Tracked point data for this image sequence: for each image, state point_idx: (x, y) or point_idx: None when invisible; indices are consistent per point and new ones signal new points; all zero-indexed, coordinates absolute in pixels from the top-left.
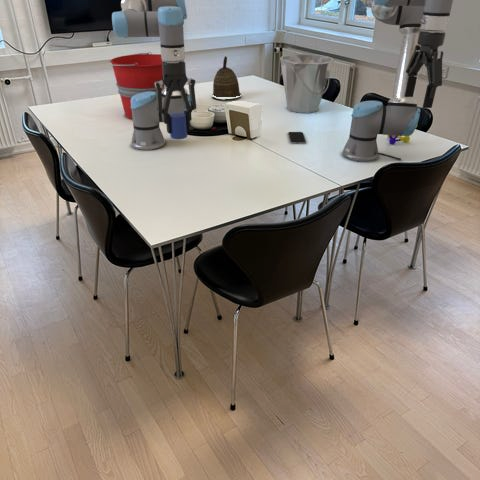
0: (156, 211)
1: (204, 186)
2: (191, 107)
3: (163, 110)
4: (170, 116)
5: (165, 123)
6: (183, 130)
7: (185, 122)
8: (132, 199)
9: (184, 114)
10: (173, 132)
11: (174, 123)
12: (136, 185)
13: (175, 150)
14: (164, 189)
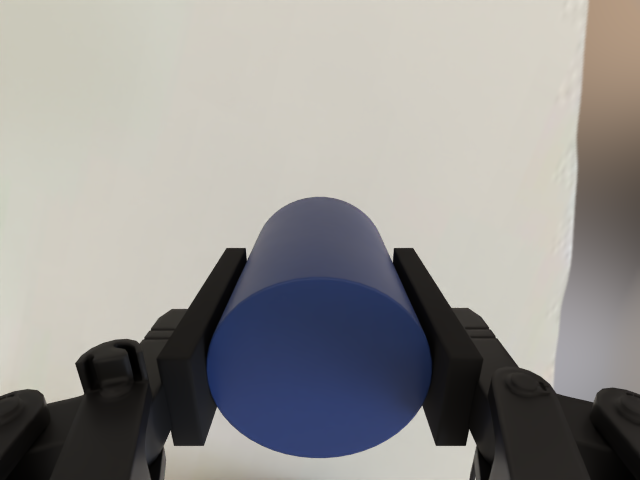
0: (474, 23)
1: (233, 168)
2: (61, 434)
3: (570, 436)
4: (422, 358)
5: (465, 311)
6: (290, 221)
7: (247, 271)
8: (511, 166)
9: (222, 372)
10: (379, 240)
11: (382, 265)
12: (456, 269)
13: (252, 463)
14: (380, 201)
